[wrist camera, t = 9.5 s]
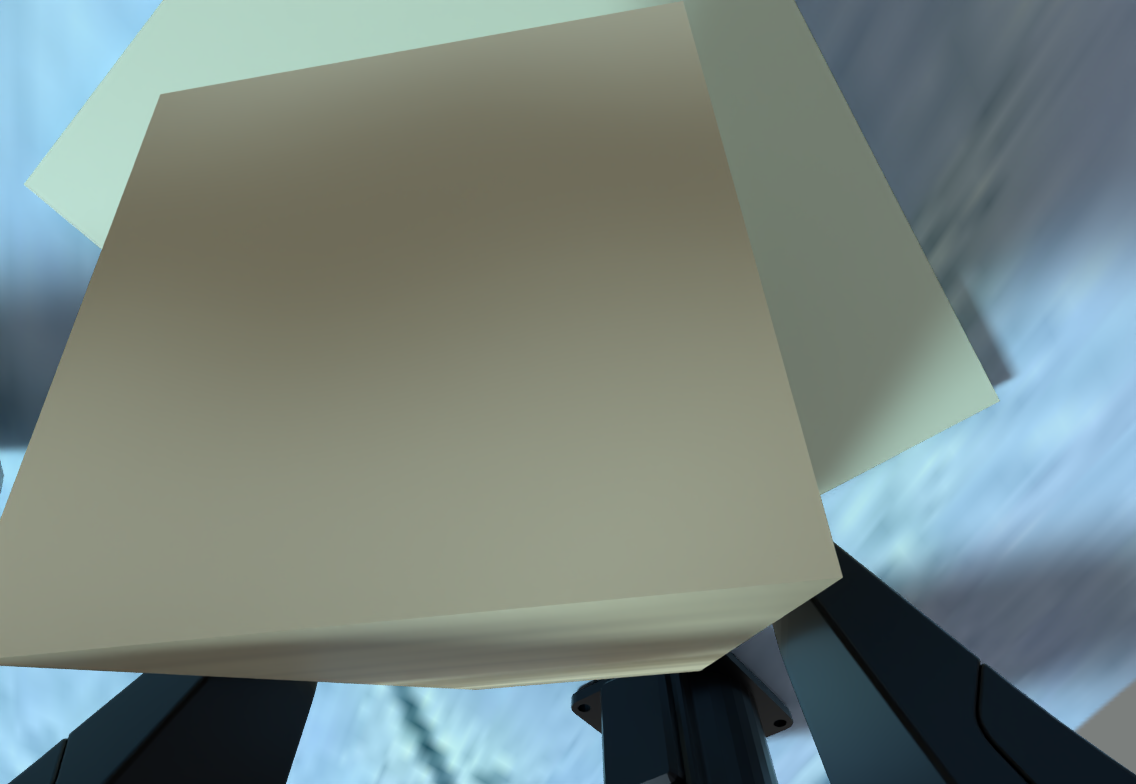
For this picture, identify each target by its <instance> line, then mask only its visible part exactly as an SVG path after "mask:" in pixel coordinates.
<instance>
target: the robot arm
mask: <svg viewBox="0 0 1136 784" xmlns="http://www.w3.org/2000/svg"><path fill="white" fill-rule="evenodd" d="M833 543H834V542H833ZM834 547H835V551H836V554H837V558H838V561H839V565H840V569H841V572H842V576H843V578H841V579H840V580H838V581H837V582H835V583H834V584H832V585H831V586H829V587H828V588H826V589H825V590H823V591H822V592H820V593H818V594H817V595H815V596H814V597H812V598H811V599H809V600H808V601H806V602H805V603H803V604H802V605H800V606H799V607H797V608H796V609H794V610H793V611H791V612H789V613H788V614H786V615H785V616H783V617H782V618H780V619H779V620H777V621H776V622H774V623H773V628H774V632H775V636H776V639H777V643H778V646H779V650H780V653H781V656H782V659H783V661H784V664H785V667H786V670H787V672H788V675H789V677H790V680H791V683H792V685H793V688H794V690H795V693H796V696H797V698H798V701H799V703H800V706H801V708H802V711H803V714H804V716H805V719H806V721H807V724H808V727H809V729H810V732H811V734H812V737H813V739H814V742H815V745H816V747H817V750H818V752H819V755H820V758H821V760H822V763H823V765H824V768H825V770H826V773H827V776H828V778H829V781H830V783H831V784H1136V775H1135V774H1134V773H1132V772H1131V771H1129V770H1128V769H1127V768H1125V767H1124V766H1122V765H1121V764H1119V763H1118V762H1116V761H1115V760H1114V759H1112V758H1111V757H1109V756H1108V755H1107V754H1105V753H1104V752H1102V751H1101V750H1099V749H1098V748H1097V747H1095V746H1094V745H1093V744H1091V743H1090V742H1088V741H1087V740H1086V739H1084V738H1082V737H1081V736H1080V735H1078V734H1077V733H1076V732H1074V731H1073V730H1071V729H1070V728H1069V727H1067V726H1066V725H1064V724H1063V723H1062V722H1060V721H1059V720H1058V719H1056V718H1055V717H1054V716H1052V715H1051V714H1050V713H1048V712H1047V711H1046V710H1045V709H1043V708H1042V707H1041V706H1039V705H1038V704H1037V703H1035V702H1034V701H1033V700H1032V699H1030V698H1029V697H1028V696H1026V695H1025V694H1024V693H1022V692H1021V691H1020V690H1019V689H1017V688H1016V687H1015V686H1013V685H1012V684H1011V683H1010V682H1008V681H1007V680H1006V679H1005V678H1003V677H1002V676H1001V675H1000V674H998V673H997V672H996V671H995V670H993V669H992V668H991V667H990V666H988V665H987V664H981V665H980V659H979V658H978V657H977V656H975V655H974V654H973V653H972V652H970V651H969V650H968V649H967V648H965V647H964V646H963V645H962V644H960V643H959V642H958V641H957V640H955V639H954V638H953V637H952V636H950V635H949V634H948V633H947V632H945V631H944V630H943V629H942V628H940V627H939V626H938V625H937V624H936V623H934V622H933V621H932V620H931V619H929V618H928V617H927V616H926V615H924V614H923V613H922V612H921V611H919V610H918V609H917V608H916V607H914V606H913V605H912V604H911V603H909V602H908V601H907V600H906V599H904V598H903V597H902V596H901V595H899V594H898V593H897V592H896V591H894V590H893V589H892V588H891V587H889V586H888V585H887V584H886V583H884V582H883V581H882V580H881V579H879V578H878V577H877V576H876V575H874V574H873V573H872V572H871V571H869V570H868V569H867V568H866V567H864V566H863V565H862V564H861V563H859V562H858V561H857V560H856V559H854V558H853V557H852V556H851V555H849V554H848V553H847V552H846V551H844V550H843V549H842V548H841V547H839V546H838V545H837V544H836V543H834ZM316 686H317V682H314V681H294V680H274V679H255V678H235V677H215V676H195V675H175V674H156V673H143V674H142V675H141V676H139V677H138V678H137V679H136V680H135V681H133V682H132V683H131V684H130V685H128V686H127V687H126V688H125V689H124V690H122V691H121V692H120V693H119V694H117V695H116V696H115V697H114V698H113V699H111V700H110V701H109V702H108V703H107V704H105V705H104V706H103V707H102V708H100V709H99V710H98V711H97V712H96V713H94V714H93V715H92V716H91V717H89V718H88V719H87V720H86V721H85V722H83V723H82V724H81V725H80V726H79V727H77V728H76V729H75V730H74V731H72V732H71V733H70V734H69V737H68V739H63V740H61V741H60V742H59V743H58V744H56V745H55V746H54V747H53V748H52V749H50V750H49V751H48V752H47V753H46V754H44V755H43V756H42V757H41V758H40V759H38V760H37V761H36V762H35V763H33V764H32V765H31V766H30V767H28V768H27V769H26V770H25V771H23V772H22V773H21V774H20V775H18V776H17V777H16V778H15V779H13V780H12V781H11V782H10V783H8V784H286V782H287V779H288V776H289V772H290V769H291V766H292V763H293V760H294V757H295V754H296V751H297V748H298V745H299V742H300V738H301V735H302V732H303V729H304V726H305V723H306V720H307V717H308V714H309V711H310V707H311V704H312V701H313V697H314V694H315V690H316ZM571 707H572V711H573V712H574V713H575V714H576V715H578V716H579V717H580V718H582V719H583V720H584V721H586V722H587V723H588V724H590V725H591V726H592V727H593V728H595V729H596V730H597V731H599V732H600V733H601V734H602V749H603V775H604V784H778V781H777V777H776V774H775V770H774V766H773V763H772V759H771V755H770V752H769V748H768V745H767V741H766V737H768V736H770V735H773V734H775V733H778V732H780V731H783V730H785V729H787V728H789V727H791V725H792V724H793V720H792V716H791V713H790V711H789V709H788V708H787V707H786V706H785V705H784V704H783V703H782V702H781V701H780V700H779V699H778V698H777V697H776V696H775V695H774V694H773V693H772V692H771V691H770V690H769V689H768V688H767V687H766V686H765V685H764V684H763V683H762V682H761V681H760V680H759V679H758V678H757V677H756V676H755V675H754V674H752V673H751V672H750V671H749V670H748V669H747V668H746V667H745V666H744V665H743V664H742V663H741V662H740V661H739V660H738V659H737V658H736V657H735V656H734V655H733V654H732V653H731V652H728V653H727V654H725V655H724V656H722V657H721V658H719V659H718V660H716V661H715V662H713V663H712V664H710V665H709V666H707V667H705V668H704V669H702V670H701V671H693V672H681V673H669V674H657V675H645V676H633V677H621V678H610V679H603V680H601V681H599V682H597V683H595V684H593V685H590V686H588V687H586V688H584V689H582V690H580V691H578V692H576V693H575V694H573V696H572V704H571Z"/></svg>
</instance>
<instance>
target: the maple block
mask: <svg viewBox="0 0 1136 784" xmlns="http://www.w3.org/2000/svg"><path fill="white" fill-rule="evenodd" d="M841 578H843V576H842V572H841V569H840V565H839V561H838V558H837V554H836V551H835V547H834V543H833V540H832V536H831V533H830V529H829V525H828V522H827V518H826V515H825V511H824V507H823V504H822V500H821V496H820V493H819V489H818V486H817V482H816V478H815V475H814V471H813V468H812V464H811V460H810V457H809V453H808V450H807V446H806V442H805V439H804V435H803V432H802V428H801V424H800V421H799V417H798V414H797V410H796V406H795V403H794V399H793V395H792V392H791V388H790V385H789V381H788V377H787V374H786V370H785V367H784V363H783V359H782V356H781V352H780V349H779V345H778V341H777V338H776V334H775V331H774V327H773V323H772V320H771V316H770V313H769V309H768V305H767V302H766V298H765V294H764V291H763V287H762V284H761V280H760V276H759V273H758V269H757V266H756V262H755V258H754V255H753V251H752V248H751V244H750V240H749V237H748V233H747V230H746V226H745V222H744V219H743V215H742V212H741V208H740V204H739V201H738V197H737V193H736V190H735V186H734V183H733V179H732V175H731V172H730V168H729V165H728V161H727V157H726V154H725V150H724V147H723V143H722V139H721V136H720V132H719V129H718V125H717V121H716V118H715V114H714V110H713V107H712V103H711V100H710V96H709V92H708V89H707V85H706V82H705V78H704V74H703V71H702V67H701V64H700V60H699V56H698V53H697V49H696V46H695V42H694V38H693V35H692V31H691V28H690V24H689V20H688V17H687V13H686V9H685V6H684V2H683V1H680V2H674V3H668V4H663V5H657V6H652V7H646V8H640V9H635V10H629V11H624V12H618V13H612V14H607V15H601V16H596V17H590V18H584V19H579V20H573V21H568V22H562V23H556V24H551V25H545V26H540V27H534V28H528V29H523V30H517V31H512V32H506V33H500V34H495V35H489V36H484V37H478V38H472V39H467V40H461V41H456V42H450V43H444V44H439V45H433V46H428V47H422V48H416V49H411V50H405V51H400V52H394V53H388V54H383V55H377V56H372V57H366V58H360V59H355V60H349V61H344V62H338V63H332V64H327V65H321V66H315V67H310V68H304V69H299V70H293V71H287V72H282V73H276V74H271V75H265V76H259V77H254V78H248V79H243V80H237V81H231V82H226V83H220V84H215V85H209V86H203V87H198V88H192V89H187V90H181V91H175V92H170V93H164V94H160V96H159V99H158V102H157V104H156V107H155V110H154V112H153V115H152V118H151V120H150V123H149V126H148V128H147V131H146V134H145V136H144V139H143V142H142V144H141V147H140V150H139V152H138V155H137V158H136V160H135V163H134V166H133V168H132V171H131V174H130V176H129V179H128V181H127V184H126V187H125V189H124V192H123V195H122V197H121V200H120V203H119V205H118V208H117V211H116V213H115V216H114V219H113V221H112V224H111V227H110V229H109V232H108V235H107V237H106V240H105V243H104V245H103V248H102V251H101V253H100V256H99V259H98V261H97V264H96V267H95V269H94V272H93V275H92V277H91V280H90V282H89V285H88V288H87V290H86V293H85V296H84V298H83V301H82V304H81V306H80V309H79V312H78V314H77V317H76V320H75V322H74V325H73V328H72V330H71V333H70V336H69V338H68V341H67V344H66V346H65V349H64V352H63V354H62V357H61V360H60V362H59V365H58V368H57V370H56V373H55V376H54V378H53V381H52V384H51V386H50V389H49V391H48V394H47V397H46V399H45V402H44V405H43V407H42V410H41V413H40V415H39V418H38V421H37V423H36V426H35V429H34V431H33V434H32V437H31V439H30V442H29V445H28V447H27V450H26V453H25V455H24V458H23V461H22V463H21V466H20V469H19V471H18V474H17V477H16V479H15V482H14V485H13V487H12V490H11V492H10V495H9V498H8V500H7V503H6V506H5V508H4V511H3V514H2V516H1V519H0V666H17V667H37V668H57V669H76V670H96V671H116V672H136V673H156V674H175V675H195V676H215V677H235V678H255V679H274V680H294V681H314V682H334V683H354V684H373V685H393V686H413V687H433V688H453V689H472V690H479V689H491V688H503V687H514V686H526V685H538V684H550V683H562V682H574V681H586V680H598V679H610V678H621V677H633V676H645V675H657V674H669V673H681V672H693V671H701V670H702V669H704V668H705V667H707V666H709V665H710V664H712V663H713V662H715V661H716V660H718V659H719V658H721V657H722V656H724V655H725V654H727V653H728V652H730V651H731V650H733V649H734V648H736V647H738V646H739V645H741V644H742V643H744V642H745V641H747V640H748V639H750V638H751V637H753V636H754V635H756V634H757V633H759V632H760V631H762V630H764V629H765V628H767V627H768V626H770V625H771V624H773V623H774V622H776V621H777V620H779V619H780V618H782V617H783V616H785V615H786V614H788V613H789V612H791V611H793V610H794V609H796V608H797V607H799V606H800V605H802V604H803V603H805V602H806V601H808V600H809V599H811V598H812V597H814V596H815V595H817V594H818V593H820V592H822V591H823V590H825V589H826V588H828V587H829V586H831V585H832V584H834V583H835V582H837V581H838V580H840V579H841Z"/></svg>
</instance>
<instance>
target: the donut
mask: <svg viewBox="0 0 1136 784" xmlns="http://www.w3.org/2000/svg"><path fill="white" fill-rule="evenodd" d="M3 477H4V474H3V470H2V466H1V461H0V493H1V489H2V483H3Z"/></svg>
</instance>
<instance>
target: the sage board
mask: <svg viewBox="0 0 1136 784" xmlns="http://www.w3.org/2000/svg"><path fill="white" fill-rule="evenodd" d="M680 1H683V2H684V6H685V9H686V13H687V17H688V20H689V24H690V28H691V31H692V35H693V38H694V42H695V46H696V49H697V53H698V56H699V60H700V64H701V67H702V71H703V74H704V78H705V82H706V85H707V89H708V92H709V96H710V100H711V103H712V107H713V110H714V114H715V118H716V121H717V125H718V129H719V132H720V136H721V139H722V143H723V147H724V150H725V154H726V157H727V161H728V165H729V168H730V172H731V175H732V179H733V183H734V186H735V190H736V193H737V197H738V201H739V204H740V208H741V212H742V215H743V219H744V222H745V226H746V230H747V233H748V237H749V240H750V244H751V248H752V251H753V255H754V258H755V262H756V266H757V269H758V273H759V276H760V280H761V284H762V287H763V291H764V294H765V298H766V302H767V305H768V309H769V313H770V316H771V320H772V323H773V327H774V331H775V334H776V338H777V341H778V345H779V349H780V352H781V356H782V359H783V363H784V367H785V370H786V374H787V377H788V381H789V385H790V388H791V392H792V395H793V399H794V403H795V406H796V410H797V414H798V417H799V421H800V424H801V428H802V432H803V435H804V439H805V442H806V446H807V450H808V453H809V457H810V460H811V464H812V468H813V471H814V475H815V478H816V482H817V486H818V489H819V493H820V495H822V494H823V493H825V492H827V491H829V490H831V489H833V488H835V487H837V486H839V485H841V484H843V483H844V482H846V481H848V480H850V479H852V478H854V477H856V476H858V475H860V474H862V473H864V472H865V471H867V470H869V469H871V468H873V467H875V466H877V465H879V464H881V463H883V462H885V461H886V460H888V459H890V458H892V457H894V456H896V455H898V454H900V453H902V452H904V451H906V450H907V449H909V448H911V447H913V446H915V445H917V444H919V443H921V442H923V441H925V440H926V439H928V438H930V437H932V436H934V435H936V434H938V433H940V432H942V431H944V430H946V429H947V428H949V427H951V426H953V425H955V424H957V423H959V422H961V421H963V420H965V419H967V418H968V417H970V416H972V415H974V414H976V413H978V412H980V411H982V410H984V409H986V408H988V407H989V406H991V405H993V404H995V403H997V402H999V401H1000V400H999V398H998V396H997V394H996V393H995V391H994V389H993V387H992V385H991V383H990V381H989V379H988V377H987V375H986V373H985V371H984V369H983V367H982V365H981V363H980V361H979V359H978V357H977V355H976V354H975V352H974V350H973V348H972V346H971V344H970V342H969V340H968V338H967V336H966V334H965V332H964V330H963V328H962V326H961V324H960V322H959V320H958V318H957V316H956V315H955V313H954V311H953V309H952V307H951V305H950V303H949V301H948V299H947V297H946V295H945V293H944V291H943V289H942V287H941V285H940V283H939V281H938V279H937V277H936V276H935V274H934V272H933V270H932V268H931V266H930V264H929V262H928V260H927V258H926V256H925V254H924V252H923V250H922V248H921V246H920V244H919V242H918V240H917V238H916V236H915V235H914V233H913V231H912V229H911V227H910V225H909V223H908V221H907V219H906V217H905V215H904V213H903V211H902V209H901V207H900V205H899V203H898V201H897V199H896V198H895V196H894V194H893V192H892V190H891V188H890V186H889V184H888V182H887V180H886V178H885V176H884V174H883V172H882V170H881V168H880V166H879V164H878V162H877V160H876V159H875V157H874V155H873V153H872V151H871V149H870V147H869V145H868V143H867V141H866V139H865V137H864V135H863V133H862V131H861V129H860V127H859V125H858V123H857V121H856V119H855V118H854V116H853V114H852V112H851V110H850V108H849V106H848V104H847V102H846V100H845V98H844V96H843V94H842V92H841V90H840V88H839V86H838V84H837V82H836V81H835V79H834V77H833V75H832V73H831V71H830V69H829V67H828V65H827V63H826V61H825V59H824V57H823V55H822V53H821V51H820V49H819V47H818V45H817V43H816V41H815V40H814V38H813V36H812V34H811V32H810V30H809V28H808V26H807V24H806V22H805V20H804V18H803V16H802V14H801V12H800V10H799V8H798V6H797V4H796V3H795V1H794V0H163V1H162V2H161V4H160V5H159V6H158V7H157V9H156V10H155V11H154V13H153V14H152V15H151V17H150V18H149V19H148V21H147V22H146V23H145V25H144V26H143V27H142V29H141V30H140V31H139V33H138V34H137V35H136V37H135V38H134V39H133V41H132V42H131V43H130V45H129V46H128V47H127V48H126V50H125V51H124V52H123V54H122V55H121V56H120V58H119V59H118V60H117V62H116V63H115V64H114V66H113V67H112V68H111V70H110V71H109V72H108V74H107V75H106V76H105V78H104V79H103V80H102V82H101V83H100V84H99V86H98V87H97V88H96V90H95V91H94V92H93V93H92V95H91V96H90V97H89V99H88V100H87V101H86V103H85V104H84V105H83V107H82V108H81V109H80V111H79V112H78V113H77V115H76V116H75V117H74V119H73V120H72V121H71V123H70V124H69V125H68V127H67V128H66V129H65V131H64V132H63V133H62V134H61V136H60V137H59V138H58V140H57V141H56V142H55V144H54V145H53V146H52V148H51V149H50V150H49V152H48V153H47V154H46V156H45V157H44V158H43V160H42V161H41V162H40V164H39V165H38V166H37V168H36V169H35V170H34V172H33V173H32V174H31V175H30V177H29V178H28V179H27V181H26V182H25V183H24V185H25V186H26V187H27V188H29V189H30V190H31V191H32V192H33V193H35V194H36V195H37V196H38V197H39V198H41V199H42V200H43V201H44V202H45V203H47V204H48V205H49V206H50V207H51V208H53V209H54V210H55V211H56V212H57V213H59V214H60V215H61V216H62V217H63V218H65V219H66V220H67V221H68V222H69V223H71V224H72V225H73V226H74V227H75V228H77V229H78V230H79V231H80V232H81V233H83V234H84V235H85V236H86V237H87V238H89V239H90V240H91V241H92V242H93V243H95V244H96V245H97V246H98V247H99V248H101V249H102V248H103V245H104V243H105V240H106V237H107V235H108V232H109V229H110V227H111V224H112V221H113V219H114V216H115V213H116V211H117V208H118V205H119V203H120V200H121V197H122V195H123V192H124V189H125V187H126V184H127V181H128V179H129V176H130V174H131V171H132V168H133V166H134V163H135V160H136V158H137V155H138V152H139V150H140V147H141V144H142V142H143V139H144V136H145V134H146V131H147V128H148V126H149V123H150V120H151V118H152V115H153V112H154V110H155V107H156V104H157V102H158V99H159V96H160V94H164V93H170V92H175V91H181V90H187V89H192V88H198V87H203V86H209V85H215V84H220V83H226V82H231V81H237V80H243V79H248V78H254V77H259V76H265V75H271V74H276V73H282V72H287V71H293V70H299V69H304V68H310V67H315V66H321V65H327V64H332V63H338V62H344V61H349V60H355V59H360V58H366V57H372V56H377V55H383V54H388V53H394V52H400V51H405V50H411V49H416V48H422V47H428V46H433V45H439V44H444V43H450V42H456V41H461V40H467V39H472V38H478V37H484V36H489V35H495V34H500V33H506V32H512V31H517V30H523V29H528V28H534V27H540V26H545V25H551V24H556V23H562V22H568V21H573V20H579V19H584V18H590V17H596V16H601V15H607V14H612V13H618V12H624V11H629V10H635V9H640V8H646V7H652V6H657V5H663V4H668V3H674V2H680Z"/></svg>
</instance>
